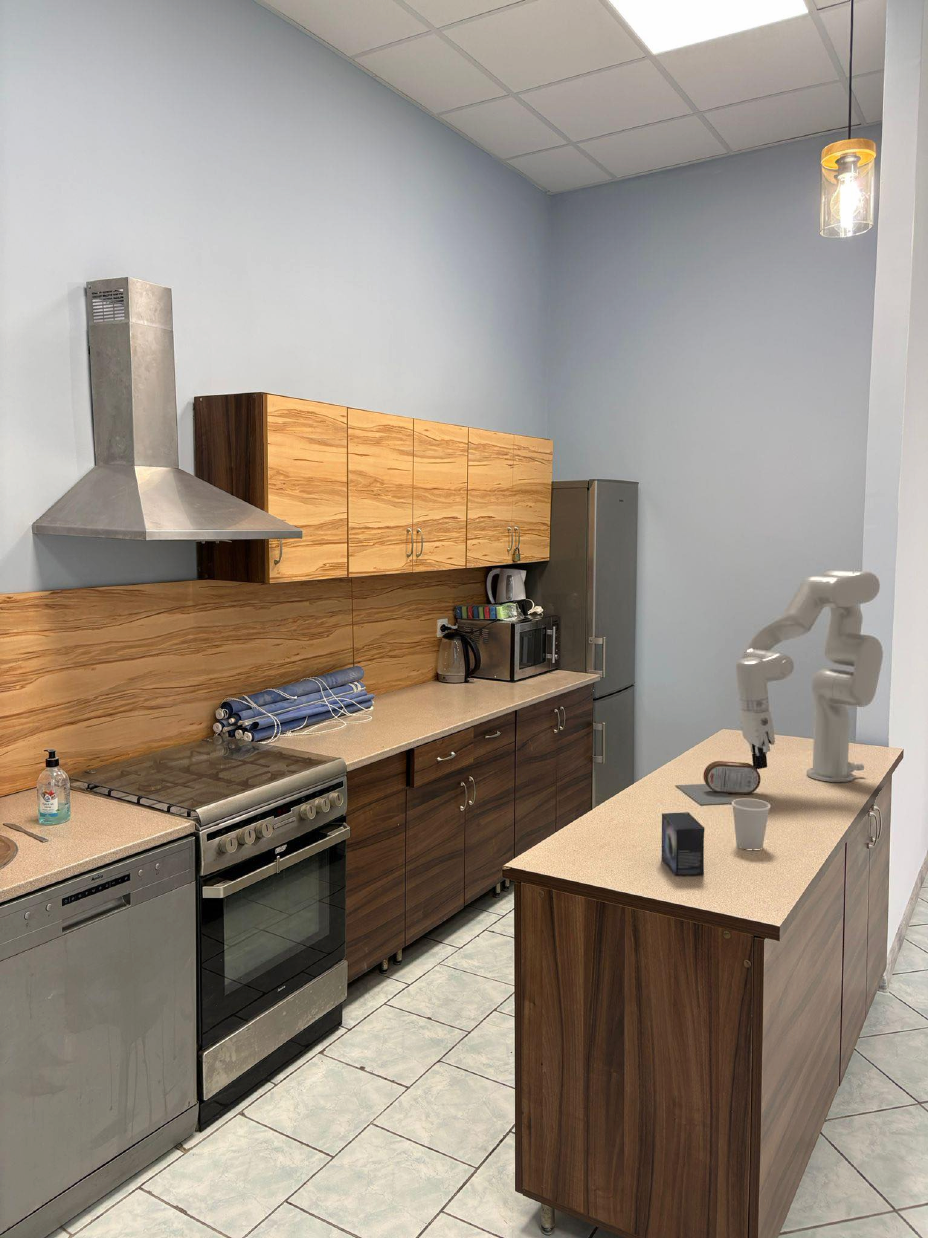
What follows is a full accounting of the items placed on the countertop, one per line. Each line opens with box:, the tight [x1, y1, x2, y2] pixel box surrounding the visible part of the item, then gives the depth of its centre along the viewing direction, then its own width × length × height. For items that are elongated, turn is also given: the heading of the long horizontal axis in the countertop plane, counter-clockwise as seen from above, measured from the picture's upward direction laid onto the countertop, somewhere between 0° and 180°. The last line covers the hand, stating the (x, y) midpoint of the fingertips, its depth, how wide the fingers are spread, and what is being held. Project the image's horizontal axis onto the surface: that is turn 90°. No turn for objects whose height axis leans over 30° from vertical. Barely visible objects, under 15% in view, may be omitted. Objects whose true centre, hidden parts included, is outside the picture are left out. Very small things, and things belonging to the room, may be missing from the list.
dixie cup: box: [731, 797, 771, 850], centre depth 204 cm, size 8×8×10 cm
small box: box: [660, 811, 706, 877], centre depth 192 cm, size 11×6×10 cm, turn 5°
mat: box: [674, 783, 736, 806], centre depth 245 cm, size 11×18×1 cm, turn 8°
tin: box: [702, 760, 761, 795], centre depth 246 cm, size 15×3×8 cm, turn 87°
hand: (760, 767), depth 247 cm, fingers closed
